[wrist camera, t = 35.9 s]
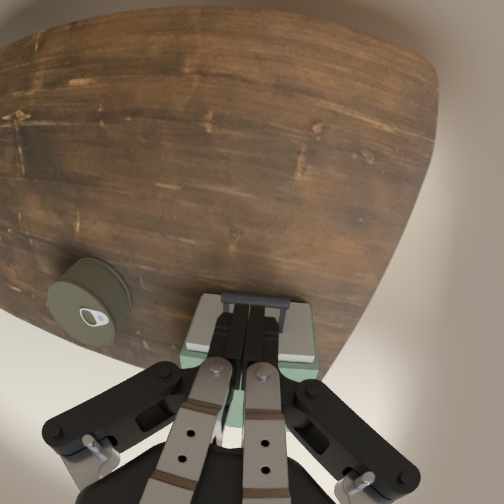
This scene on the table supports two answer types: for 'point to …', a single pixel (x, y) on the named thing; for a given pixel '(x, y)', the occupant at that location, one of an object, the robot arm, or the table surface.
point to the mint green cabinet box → (236, 411)
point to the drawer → (286, 313)
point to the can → (90, 302)
